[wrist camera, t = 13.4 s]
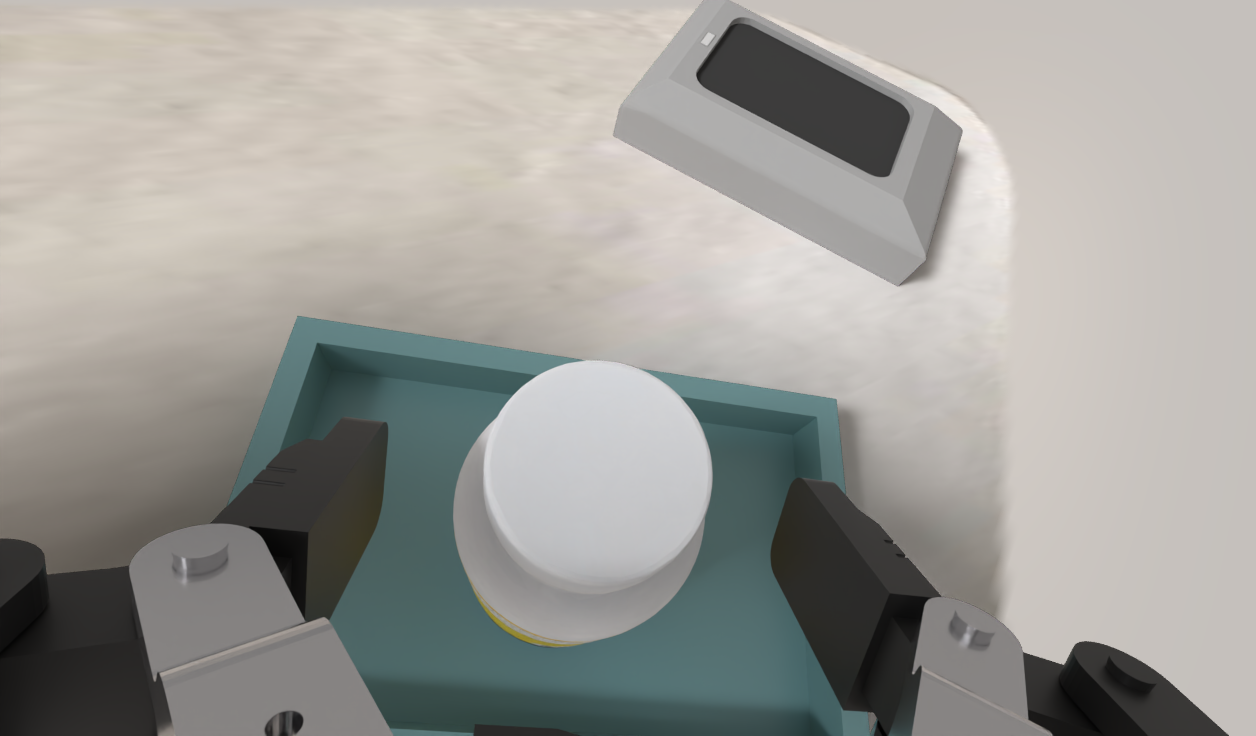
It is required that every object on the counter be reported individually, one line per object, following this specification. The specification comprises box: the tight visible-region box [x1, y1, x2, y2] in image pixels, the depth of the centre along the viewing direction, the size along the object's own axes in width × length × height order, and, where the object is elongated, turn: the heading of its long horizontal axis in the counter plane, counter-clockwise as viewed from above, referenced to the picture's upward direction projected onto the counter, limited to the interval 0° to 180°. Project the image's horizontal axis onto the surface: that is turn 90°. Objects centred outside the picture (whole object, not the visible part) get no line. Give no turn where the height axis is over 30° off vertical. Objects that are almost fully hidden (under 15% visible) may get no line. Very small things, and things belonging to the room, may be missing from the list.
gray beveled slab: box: [613, 0, 963, 286], centre depth 29 cm, size 10×4×15 cm
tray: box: [227, 316, 870, 736], centre depth 18 cm, size 18×12×2 cm, turn 86°
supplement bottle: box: [453, 360, 713, 648], centre depth 15 cm, size 5×5×10 cm
